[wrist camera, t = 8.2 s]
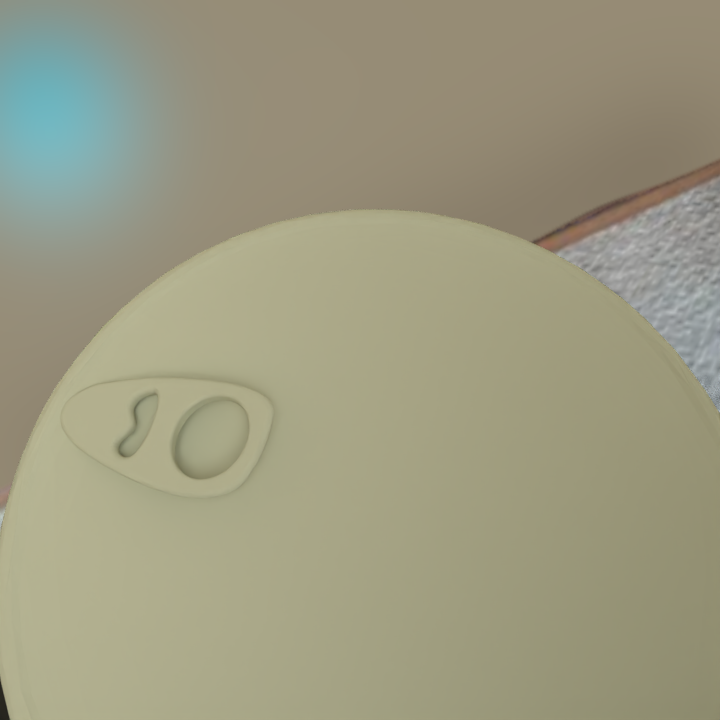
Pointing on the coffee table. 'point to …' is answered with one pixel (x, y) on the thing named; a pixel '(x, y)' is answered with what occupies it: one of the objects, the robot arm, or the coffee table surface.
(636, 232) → the coffee table surface
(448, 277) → the can
